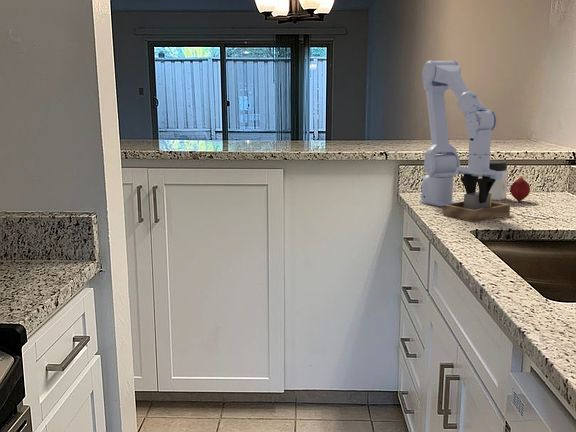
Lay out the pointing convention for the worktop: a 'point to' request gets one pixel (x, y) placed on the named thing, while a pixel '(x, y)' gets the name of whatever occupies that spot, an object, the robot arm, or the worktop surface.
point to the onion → (520, 189)
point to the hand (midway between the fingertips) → (476, 201)
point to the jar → (499, 185)
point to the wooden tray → (476, 211)
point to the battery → (476, 201)
